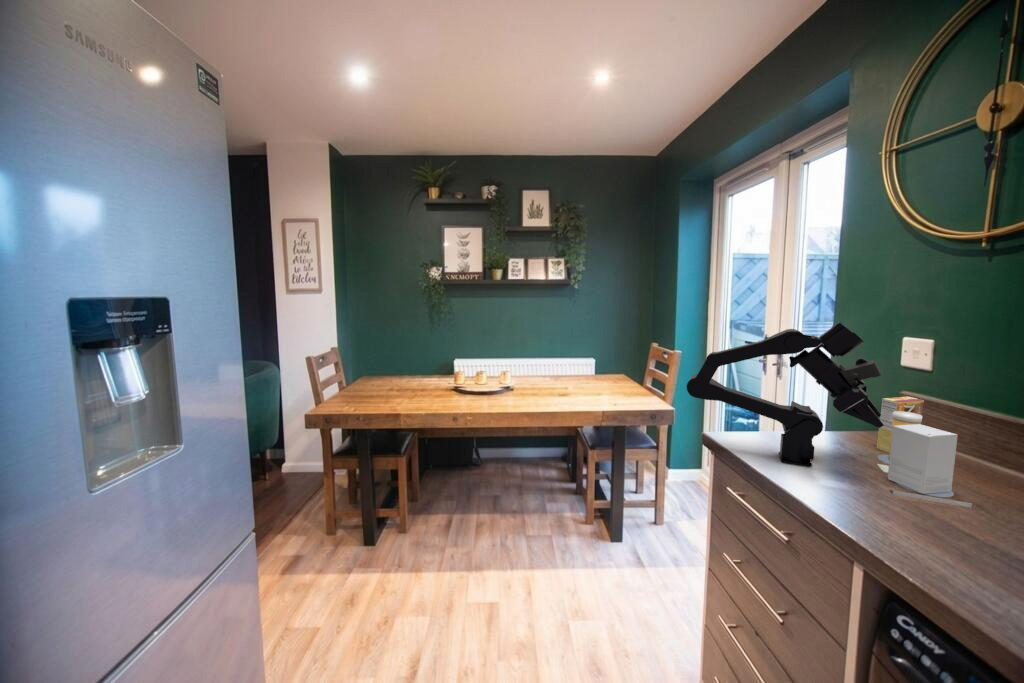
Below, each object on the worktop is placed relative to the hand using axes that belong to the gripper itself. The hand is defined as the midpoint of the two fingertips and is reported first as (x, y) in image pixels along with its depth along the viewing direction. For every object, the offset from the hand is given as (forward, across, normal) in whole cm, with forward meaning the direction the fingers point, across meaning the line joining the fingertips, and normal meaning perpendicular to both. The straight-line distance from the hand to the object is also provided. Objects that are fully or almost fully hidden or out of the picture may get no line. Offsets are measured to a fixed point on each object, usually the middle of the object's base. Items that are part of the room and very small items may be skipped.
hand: (880, 421), depth 93 cm
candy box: (+13, +22, +6) cm, 26 cm away
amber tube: (+12, +11, +5) cm, 18 cm away
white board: (+14, +4, +6) cm, 15 cm away
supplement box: (+14, -4, +4) cm, 15 cm away
